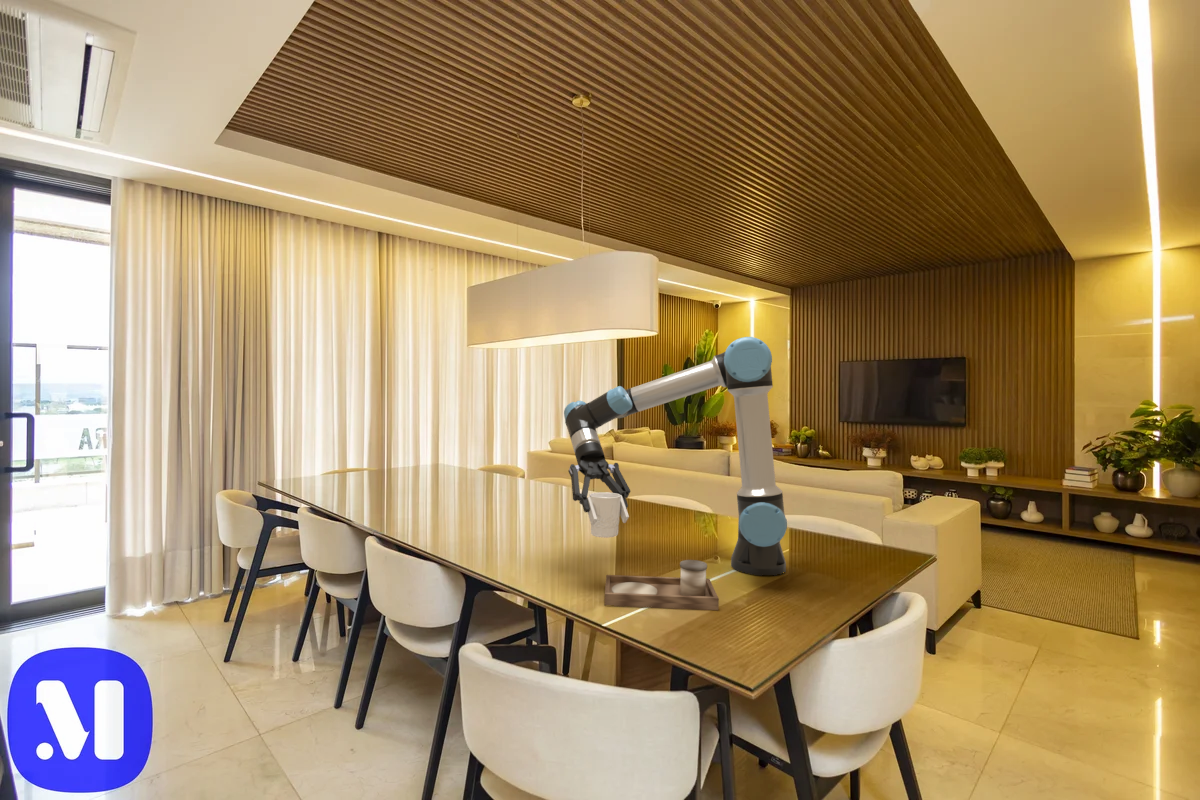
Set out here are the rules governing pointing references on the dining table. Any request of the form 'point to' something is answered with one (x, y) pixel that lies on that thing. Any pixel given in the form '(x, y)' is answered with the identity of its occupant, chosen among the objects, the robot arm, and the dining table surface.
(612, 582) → the tray
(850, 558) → the dining table surface
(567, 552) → the dining table surface
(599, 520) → the white cup
